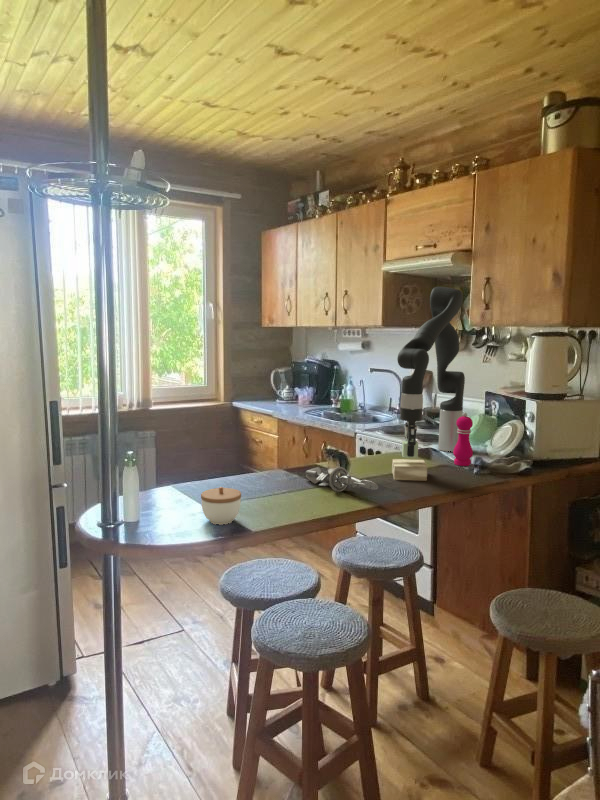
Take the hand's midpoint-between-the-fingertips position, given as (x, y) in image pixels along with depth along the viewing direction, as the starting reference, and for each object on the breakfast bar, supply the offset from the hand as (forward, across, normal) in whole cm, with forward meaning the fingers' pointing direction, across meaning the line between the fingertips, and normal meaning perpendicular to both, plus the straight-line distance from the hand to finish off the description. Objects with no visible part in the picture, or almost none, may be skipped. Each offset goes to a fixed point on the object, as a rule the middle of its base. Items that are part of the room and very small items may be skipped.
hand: (409, 454), depth 210 cm
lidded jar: (+8, +54, -55) cm, 78 cm away
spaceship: (+8, +22, -24) cm, 33 cm away
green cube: (+1, 0, 0) cm, 1 cm away
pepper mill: (+8, -20, +22) cm, 31 cm away
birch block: (+8, 0, 0) cm, 8 cm away
